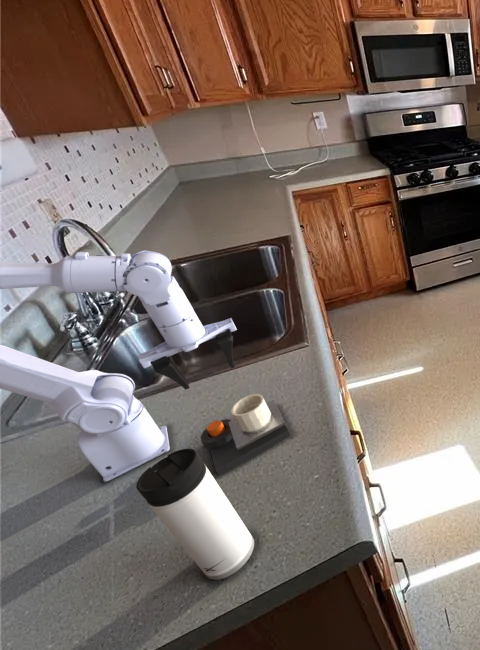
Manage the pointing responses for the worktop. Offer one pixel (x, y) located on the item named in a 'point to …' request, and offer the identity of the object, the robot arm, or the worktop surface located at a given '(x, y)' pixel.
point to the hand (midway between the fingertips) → (210, 375)
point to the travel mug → (197, 513)
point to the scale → (227, 451)
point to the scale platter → (248, 437)
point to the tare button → (215, 428)
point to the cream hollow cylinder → (251, 412)
